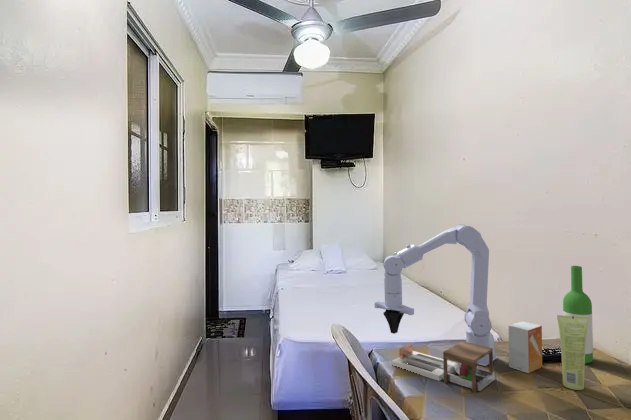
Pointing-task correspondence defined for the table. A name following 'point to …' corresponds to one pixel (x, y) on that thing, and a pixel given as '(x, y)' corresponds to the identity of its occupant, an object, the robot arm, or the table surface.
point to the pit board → (422, 366)
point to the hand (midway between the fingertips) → (394, 332)
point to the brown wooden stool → (467, 358)
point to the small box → (525, 346)
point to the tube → (573, 349)
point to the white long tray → (450, 370)
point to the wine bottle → (580, 307)
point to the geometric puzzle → (465, 370)
